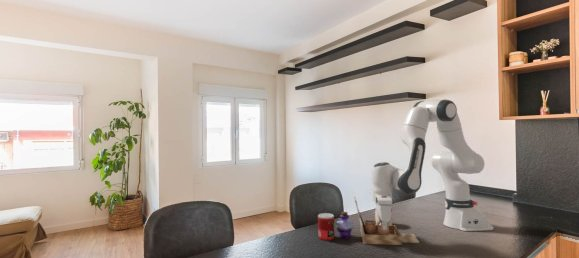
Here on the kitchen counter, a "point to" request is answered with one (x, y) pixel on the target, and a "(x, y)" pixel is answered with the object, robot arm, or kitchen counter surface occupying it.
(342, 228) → the potion bottle
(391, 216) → the teacup with lid
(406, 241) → the cork mat
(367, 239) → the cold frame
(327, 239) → the canned food
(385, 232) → the pot near
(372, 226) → the pot far
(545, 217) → the kitchen counter surface
